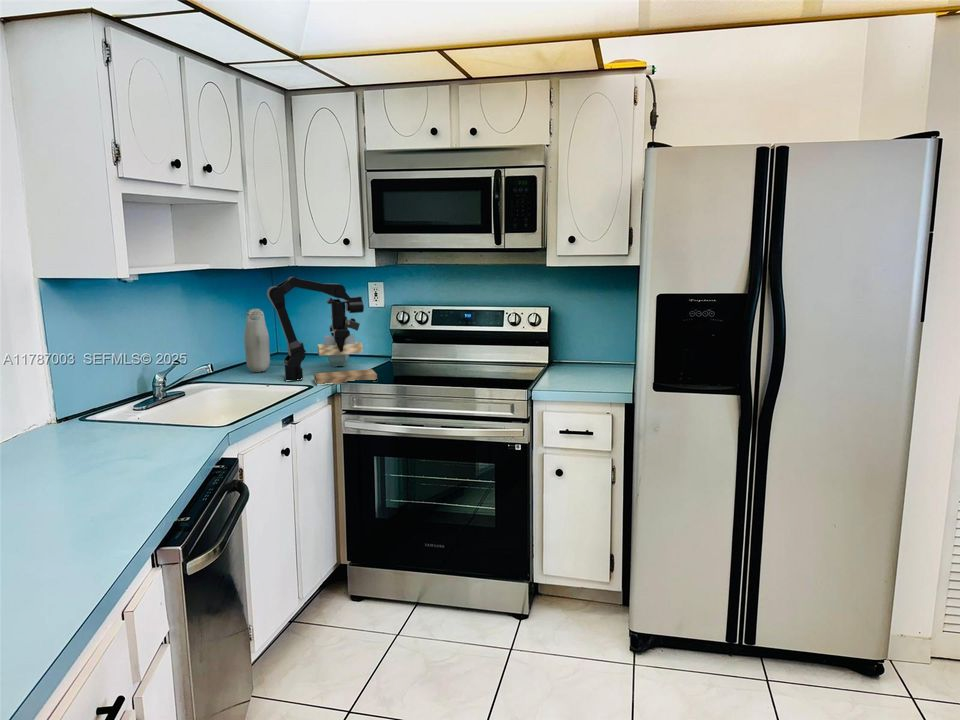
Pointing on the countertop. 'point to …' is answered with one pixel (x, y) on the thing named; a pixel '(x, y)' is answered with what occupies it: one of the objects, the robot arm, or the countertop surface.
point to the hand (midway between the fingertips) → (340, 350)
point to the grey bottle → (256, 341)
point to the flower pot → (338, 359)
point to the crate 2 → (350, 339)
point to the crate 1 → (329, 340)
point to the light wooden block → (335, 350)
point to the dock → (344, 376)
